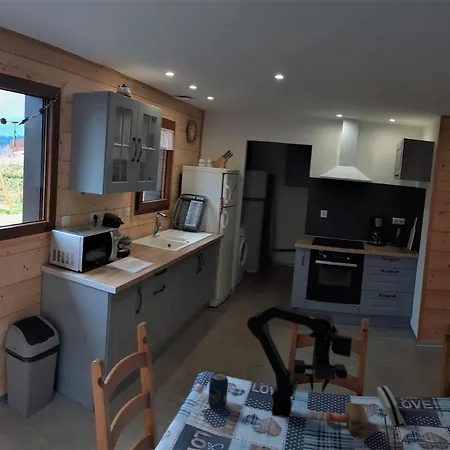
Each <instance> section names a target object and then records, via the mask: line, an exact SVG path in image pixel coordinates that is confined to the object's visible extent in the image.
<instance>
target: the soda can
mask: <svg viewBox="0 0 450 450" xmlns="http://www.w3.org/2000/svg"><path fill="white" fill-rule="evenodd" d="M228 385H229V380H228V376H227V374H225V373H222V372H214V373H212V374H211V377H210V378H209V385H208V396H207V397H208V398H207V399H208V400H207V402H208V406H209V407H210V408H211V407H212V408H214V409H221V410H223V409H225V407H226V406H227V399H228V398H227V397H228V387H229V386H228ZM212 408H211V409H212ZM222 408H223V409H222ZM214 409H213V410H214Z"/></svg>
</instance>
